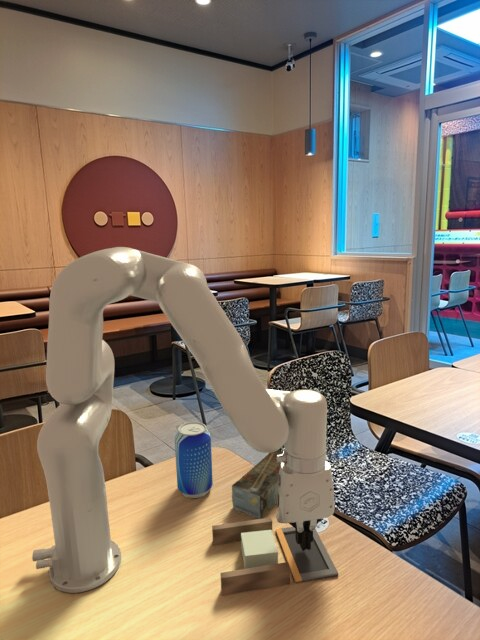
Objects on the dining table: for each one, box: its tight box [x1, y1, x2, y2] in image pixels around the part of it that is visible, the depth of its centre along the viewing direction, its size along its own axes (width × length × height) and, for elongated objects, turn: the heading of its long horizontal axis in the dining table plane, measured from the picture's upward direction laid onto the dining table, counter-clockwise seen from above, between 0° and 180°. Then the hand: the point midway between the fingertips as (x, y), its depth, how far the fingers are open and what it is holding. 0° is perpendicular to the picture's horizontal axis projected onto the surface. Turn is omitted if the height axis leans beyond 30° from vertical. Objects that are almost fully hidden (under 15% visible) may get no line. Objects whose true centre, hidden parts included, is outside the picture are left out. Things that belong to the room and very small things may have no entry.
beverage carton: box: [231, 449, 283, 519], centre depth 102 cm, size 8×19×7 cm, turn 145°
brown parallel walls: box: [211, 517, 291, 596], centre depth 81 cm, size 12×13×4 cm
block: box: [240, 529, 279, 569], centre depth 82 cm, size 6×6×4 cm
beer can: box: [174, 421, 214, 499], centre depth 103 cm, size 8×8×16 cm
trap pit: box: [275, 526, 339, 584], centre depth 84 cm, size 8×13×1 cm, turn 10°
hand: (304, 544), depth 83 cm, fingers closed
